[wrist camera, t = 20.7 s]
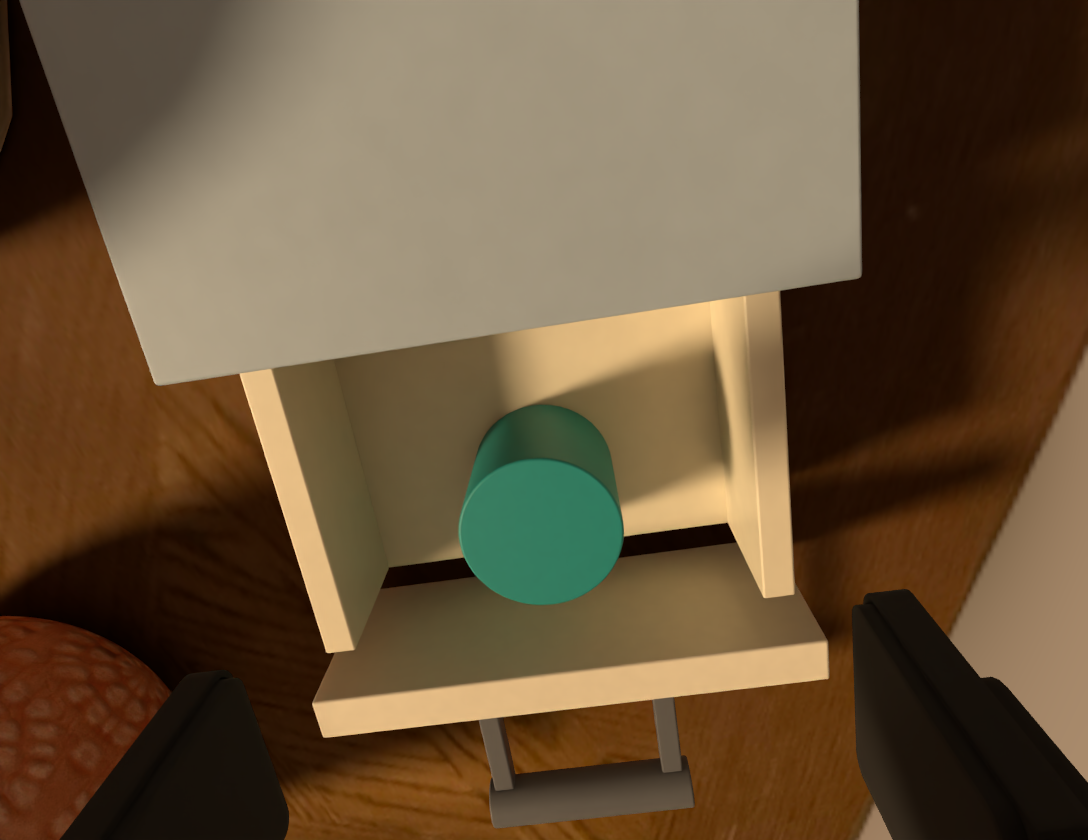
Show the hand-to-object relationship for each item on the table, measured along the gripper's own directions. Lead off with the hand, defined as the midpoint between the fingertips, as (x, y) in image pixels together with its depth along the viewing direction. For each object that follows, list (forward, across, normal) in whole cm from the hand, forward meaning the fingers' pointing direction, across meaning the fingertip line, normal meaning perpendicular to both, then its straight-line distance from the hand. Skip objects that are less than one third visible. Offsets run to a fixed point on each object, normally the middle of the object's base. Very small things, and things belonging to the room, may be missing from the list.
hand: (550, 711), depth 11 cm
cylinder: (+11, +1, 0) cm, 11 cm away
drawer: (+12, +1, +1) cm, 12 cm away
